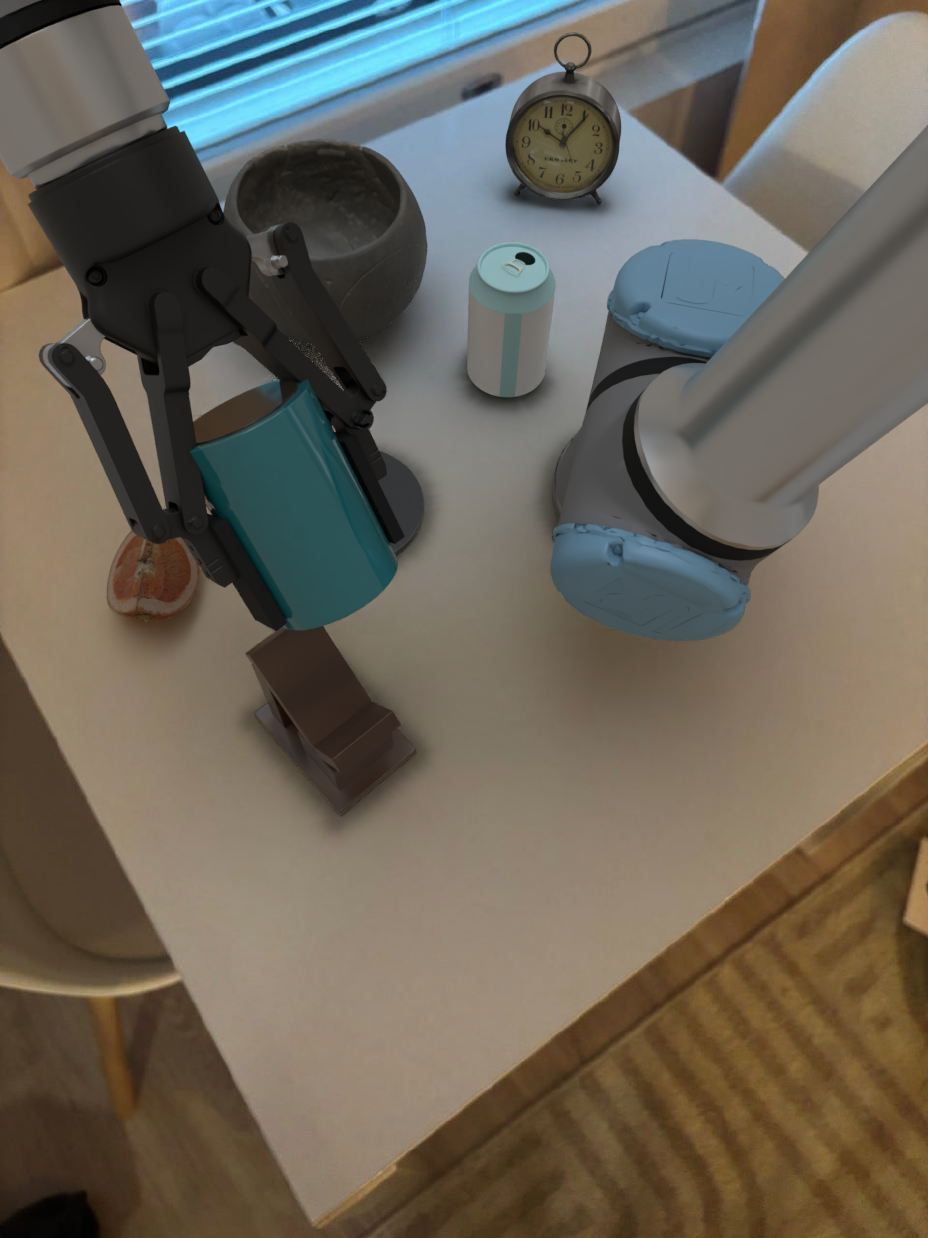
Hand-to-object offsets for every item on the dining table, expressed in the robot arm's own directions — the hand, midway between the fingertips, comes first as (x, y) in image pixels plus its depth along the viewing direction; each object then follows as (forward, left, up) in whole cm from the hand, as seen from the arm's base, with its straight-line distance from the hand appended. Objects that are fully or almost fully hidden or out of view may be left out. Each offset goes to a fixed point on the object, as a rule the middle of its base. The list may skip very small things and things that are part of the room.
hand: (330, 577), depth 52 cm
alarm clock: (-29, -53, -19) cm, 64 cm away
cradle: (+2, +2, -19) cm, 19 cm away
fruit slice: (+14, -13, -19) cm, 27 cm away
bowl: (-4, -41, -19) cm, 46 cm away
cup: (+1, -2, +4) cm, 5 cm away
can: (-18, -30, -19) cm, 40 cm away
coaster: (-2, -18, -19) cm, 27 cm away
